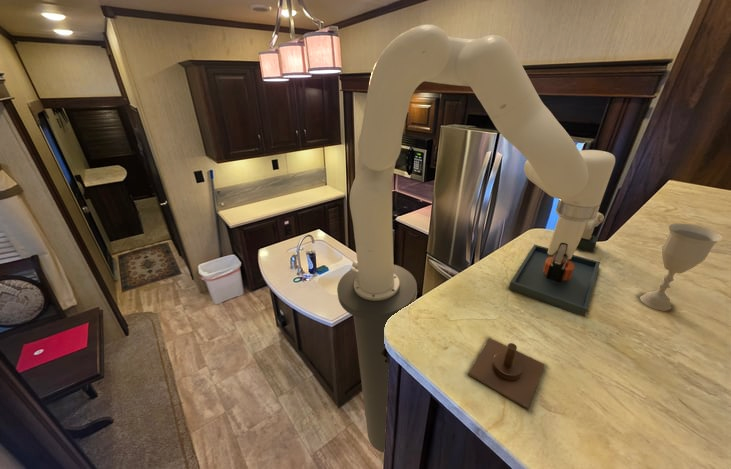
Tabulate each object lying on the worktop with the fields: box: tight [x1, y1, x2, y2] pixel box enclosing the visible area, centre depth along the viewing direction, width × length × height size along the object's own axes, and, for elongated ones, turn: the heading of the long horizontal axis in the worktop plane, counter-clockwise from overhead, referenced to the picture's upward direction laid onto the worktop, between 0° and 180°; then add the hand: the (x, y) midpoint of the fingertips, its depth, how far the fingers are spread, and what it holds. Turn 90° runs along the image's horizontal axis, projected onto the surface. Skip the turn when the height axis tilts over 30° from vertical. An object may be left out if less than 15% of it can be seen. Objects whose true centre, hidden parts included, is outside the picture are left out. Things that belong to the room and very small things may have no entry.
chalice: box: [639, 223, 723, 312], centre depth 60 cm, size 7×7×18 cm
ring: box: [543, 257, 574, 280], centre depth 72 cm, size 6×6×3 cm
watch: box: [576, 211, 605, 254], centre depth 83 cm, size 6×8×11 cm
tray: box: [508, 243, 601, 317], centre depth 73 cm, size 16×22×2 cm
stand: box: [467, 337, 545, 410], centre depth 51 cm, size 10×10×6 cm
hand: (556, 272), depth 73 cm, fingers closed on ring, 6 cm apart
